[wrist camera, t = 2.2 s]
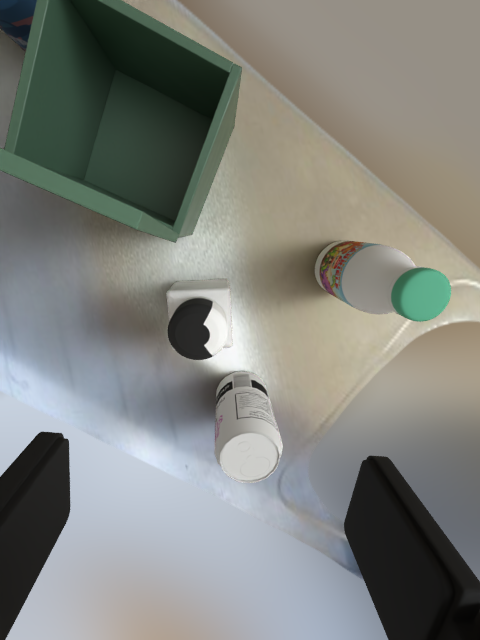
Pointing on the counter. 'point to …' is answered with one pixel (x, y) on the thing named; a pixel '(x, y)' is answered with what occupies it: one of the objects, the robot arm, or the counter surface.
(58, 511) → the robot arm
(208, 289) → the container
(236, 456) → the supplement can
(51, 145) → the bread box
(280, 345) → the counter surface
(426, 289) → the milk bottle
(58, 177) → the bread box lid
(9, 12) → the soda can
